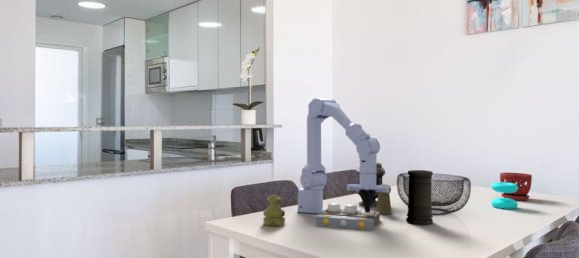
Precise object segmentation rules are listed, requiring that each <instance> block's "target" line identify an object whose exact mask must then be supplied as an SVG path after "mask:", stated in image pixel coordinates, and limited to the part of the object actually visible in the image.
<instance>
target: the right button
mask: <svg viewBox="0 0 579 258" xmlns="http://www.w3.org/2000/svg"><path fill="white" fill-rule="evenodd" d="M374 212H375V211H374ZM374 212H373V210H370V212H369V213H368V212H365V210H361V215H370V216H374Z"/></svg>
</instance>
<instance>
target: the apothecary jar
mask: <svg viewBox="0 0 579 258" xmlns="http://www.w3.org/2000/svg"><path fill="white" fill-rule="evenodd" d="M382 164H383V163H382V162H379V161H376V185H383V176H385V174H386V170H385V168H384V167H383V165H382ZM356 172H357V174H358V175H359V176H360V166H359V167H358V168H357V170H356ZM367 190H373V189H367ZM355 192H356V195H358V196H360V195H359V193H360V191H356V190H355ZM377 199H378V192H376V194H375V196H374V199H373V201H372V204H371V207H377ZM358 205H360V206H363V207H364V204H363V201H362V200H361V201H360V202H359V203H358Z"/></svg>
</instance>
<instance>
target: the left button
mask: <svg viewBox="0 0 579 258" xmlns="http://www.w3.org/2000/svg"><path fill="white" fill-rule="evenodd" d="M327 208H328V212H332V213H340V209H341V203H338V202H330V203H327Z"/></svg>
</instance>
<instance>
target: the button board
mask: <svg viewBox="0 0 579 258" xmlns="http://www.w3.org/2000/svg"><path fill="white" fill-rule="evenodd" d="M325 209H326V210H324V211H323V212H321V214H323V215H336V216H348V217H360V218H372V219H374V227H376V226H377V225H378V223H379V222H380V221H381V216H380V212H376V211H373V210H372V211H373V212H374V216H370V215H361V211H362V210H360V209H357V214H345V213H344V208H340V213H332V212H328V207H327V208H325Z"/></svg>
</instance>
